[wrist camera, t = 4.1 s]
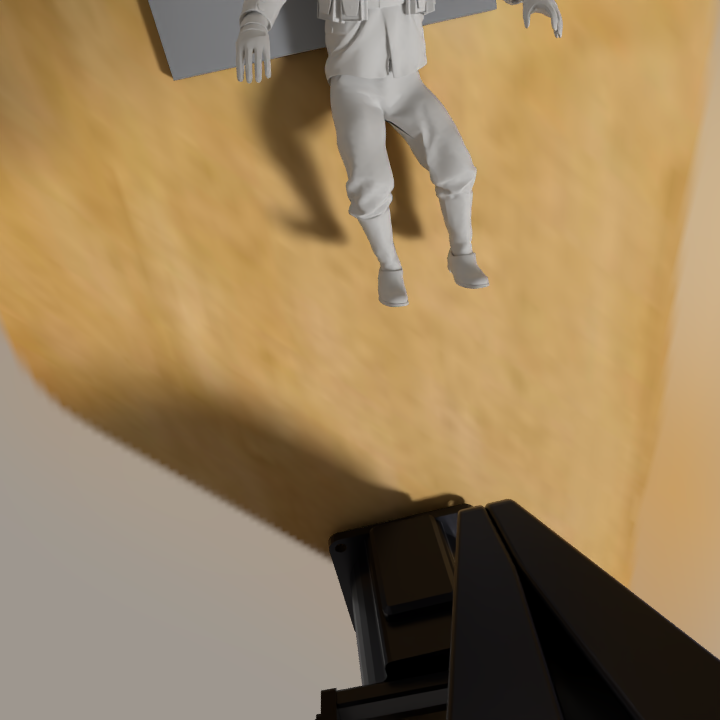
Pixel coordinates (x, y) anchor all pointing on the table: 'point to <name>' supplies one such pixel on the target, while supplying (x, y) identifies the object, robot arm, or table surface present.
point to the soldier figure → (386, 117)
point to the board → (287, 36)
